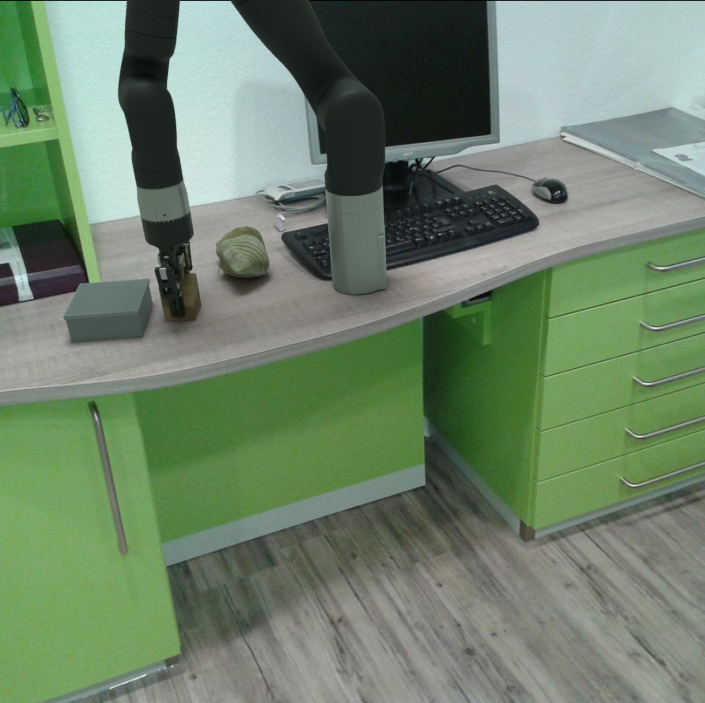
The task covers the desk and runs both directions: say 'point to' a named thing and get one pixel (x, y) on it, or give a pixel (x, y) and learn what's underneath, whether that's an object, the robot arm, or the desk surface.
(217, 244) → the seashell
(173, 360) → the desk surface
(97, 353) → the desk surface
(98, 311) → the grey-green square slab
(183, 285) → the brass block
